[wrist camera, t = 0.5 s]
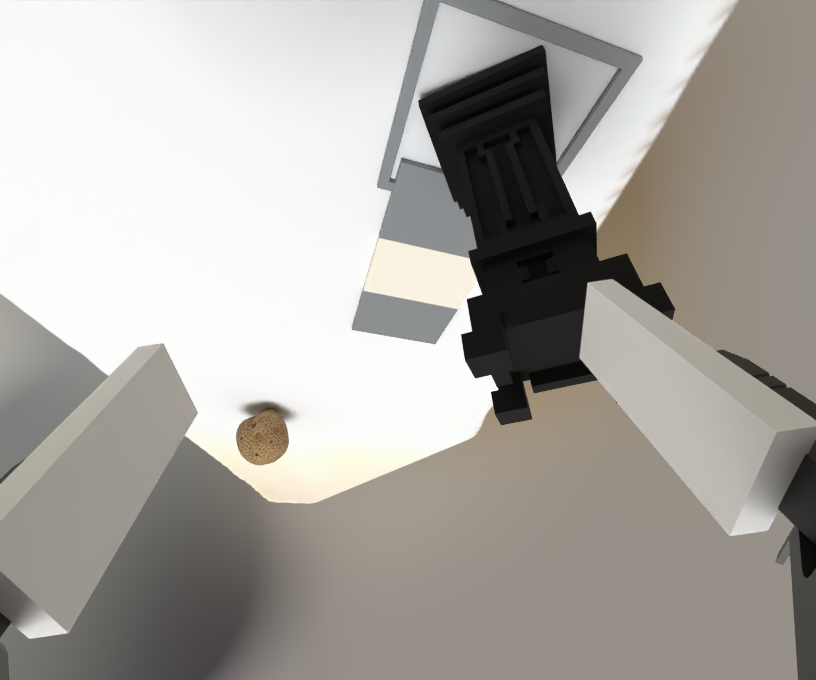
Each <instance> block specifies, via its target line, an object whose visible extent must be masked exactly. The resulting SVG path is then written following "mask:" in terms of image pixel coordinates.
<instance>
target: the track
mask: <svg viewBox="0 0 816 680" xmlns="http://www.w3.org/2000/svg"><path fill="white" fill-rule="evenodd" d="M476 248H477V246H476V241H475V236H474V231H473V227H472V222H471V217H470V216H469V217H466V215H465V212H464V209H460V208H459V205H458V203H457V202H454V201H453V198H452V195H451V193H450V190H449V187H448V184H447V182H446V179H445V176H444V173H443V171H442V169H439V168H435V167H431V166H428V165H424V164H420V163H417V162H413V161H409V160H406V159H401V162H400V166H399V169H398V173H397V176H396V179H395V185H394V189H393V191H392V193H391V196H390V200H389V203H388V207H387V210H386V213H385V217H384V220H383V224H382V227H381V230H380V234H379V237H378V241H377V244H376V247H375V251H374V254H373V258H372V261H371V264H370V268H369V271H368V274H367V278H366V281H365V285H364V288H363V291H362V295H361V298H360V302H359V305H358V308H357V312H356V315H355V319H354V322H353V325H352V330H356V331H362V332H368V333H373V334H379V335H385V336H391V337H397V338H402V339H408V340H414V341H420V342H426V343H431V344H436V342H437V341H438V339H439V338H440V336H441V334H442V333H443V331H444V330H445V328H446V327H447V325H448V324H449V322H450V321H451V319H452V318H453V316H454V315H455V313H456V312H457V310H458V308H459V307H460V305H461V304H462V302H463V301H464V299H465V298H466V296H467V295H468V293H469V292H470V290H471V289H472V287H473V286H474V284H475V282H476V281H477V279H476V276H475V273H474V271H473V268H472V266H471V263H470V258H469V253H468V251H470V250H473V249H476Z"/></svg>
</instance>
